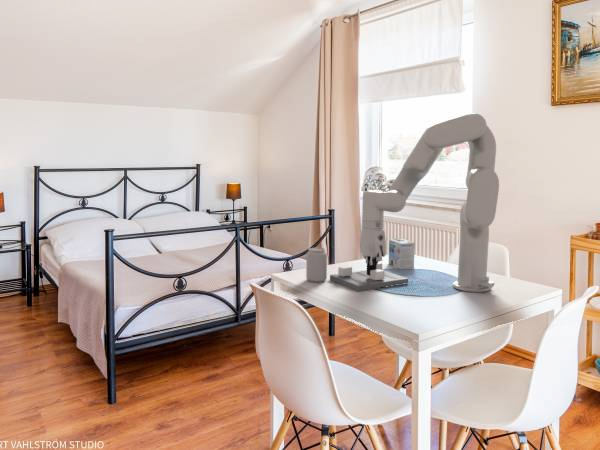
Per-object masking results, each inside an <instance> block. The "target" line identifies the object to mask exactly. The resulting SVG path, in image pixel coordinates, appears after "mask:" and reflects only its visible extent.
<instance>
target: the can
mask: <svg viewBox="0 0 600 450" xmlns="http://www.w3.org/2000/svg"><path fill="white" fill-rule="evenodd" d="M327 260H328V253H327V251H326V249H325V248H323V247H309V248H308V249H307V252H306V274H305V275H306V276H305V278H306V279H307V280H308V282H311V283H323V282H325V281H326V280H327V279H328V278H327V277H328V276H327V275H328V273H327V268H328V265H327V264H328V263H327V262H328V261H327Z"/></svg>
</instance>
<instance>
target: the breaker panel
mask: <svg viewBox="0 0 600 450" xmlns="http://www.w3.org/2000/svg"><path fill="white" fill-rule="evenodd" d="M377 269H380V270H383V263H382V262H380V261H378V264H377V268H376V270H377ZM337 270H338V271H337V272H338V273H333V274H330V275H329V281H332V282H334V283H336V284H339V285H341V286H344V287H346V288H348V289H351V290H353V291H355V292H357V293H358V292H364V291H371V290H377V289H376V288H378V289H381V288H380V287H385V288H387V287H386V286H391V285H396V284H403V283H408V284H409V278H408V277H405V276H401V275H399V274H396V273H392V272H390V271H386V270H383V271H385V272H384V279H381V280H373V279H370V276H369V275H367V269H365V270H364V269H363V270H359V271H358V270H356V271H353V267H352V266H349V265H342V266H338V269H337ZM391 287H392V286H391Z"/></svg>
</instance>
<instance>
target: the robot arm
mask: <svg viewBox="0 0 600 450" xmlns="http://www.w3.org/2000/svg"><path fill="white" fill-rule="evenodd" d="M463 143H468V147H469V155H468V165H467V171H466V177H465V186H466V189H467V195H466V201H464V202H463V204H462V205H461V207H460V211H459V228H460V230H459V250H458V251H459V252H458V269H457V270H458V271H457V280H455V281H453V283H452V287H453V288H454V289H457V290H458V291H463V292H470V293H483V292H484V293H485V292H488V291H491V289H492V288H493V287H494V286H495V282H493V281H492V282H491V281H490V277H489V276H487V273H488V255H489V245H490V244H489V243H490V242H489V239H490V226H491V225H492V224H493V222H494V220H495V217H496V212H497V205H498V198H499V190H500V179H499V176H498V174H497V172H496V171H495V167H496V155H497V143H496V138H495V135H494V133H493V132H492V130H491V129H490V127H489V126H488V125H487V121H486V118H484V116H482V114H479V113H478V112H477V113H476V112H471V113H467V114H464V115H461V116H458V117H455V118H454V117H453V118H451V119H448V120H444V121H440V122H436V123H433V124H431V125H429V126H428V127H427V128H426V129H425V131H424V132H423V133H422V135H421V137H420V138H419V140H418V141H417V143H416V144H415V146H414V148H413V149H412V151H411V153H410V154H409V156H408V157H407V158H406V161H405V162H404V164H403V166H402V167H401V170H400V171H399V173H398V175H397V176H396V178H395V180H394V181H393V182H392V185H391V186H390V188H389V189H388V191H382V190H378V189H377V190H371V189H370V190H369V189H368V190H364V191H363V193H362V205H361V206H362V210H361V211H362V213H361V214H362V215H361V216H362V217H361V219H362V220H361V232H360V239H359V242H360V243H359V251H360V253H361V256H362V258H364V259H365V264H366V270H367V275H369V276H370V270H376V268H377V264H378V262H383V258H384V257H386V255H387V243H386V242H387V241H386V232H385V229H384V213H385V212H389V213H398V212H401V211H403V210H404V208H405V207H406V203H407V200H408V199H409V197H410V196H411V194H412V192H413V191H414V189H415V188H416V187H417V185H418V184H419V183H420V182H421V180H422V179H424V178H425V176H427V174H428V173H429V172H430V170H431V168H432V167H433V166H434V164H435V162H436V160H437V159H438V157H439V156H440V155H441V153H442V151H443V150H444V149H445V148H448V147H449V148H450V147H453V146H456V145H460V144H463Z"/></svg>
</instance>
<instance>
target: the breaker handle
mask: <svg viewBox="0 0 600 450" xmlns="http://www.w3.org/2000/svg"><path fill="white" fill-rule="evenodd" d="M385 271H386V270H384V271H383V269H382V270H380V269H377V270H370V279H373V280H381V279H384V272H385Z"/></svg>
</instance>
